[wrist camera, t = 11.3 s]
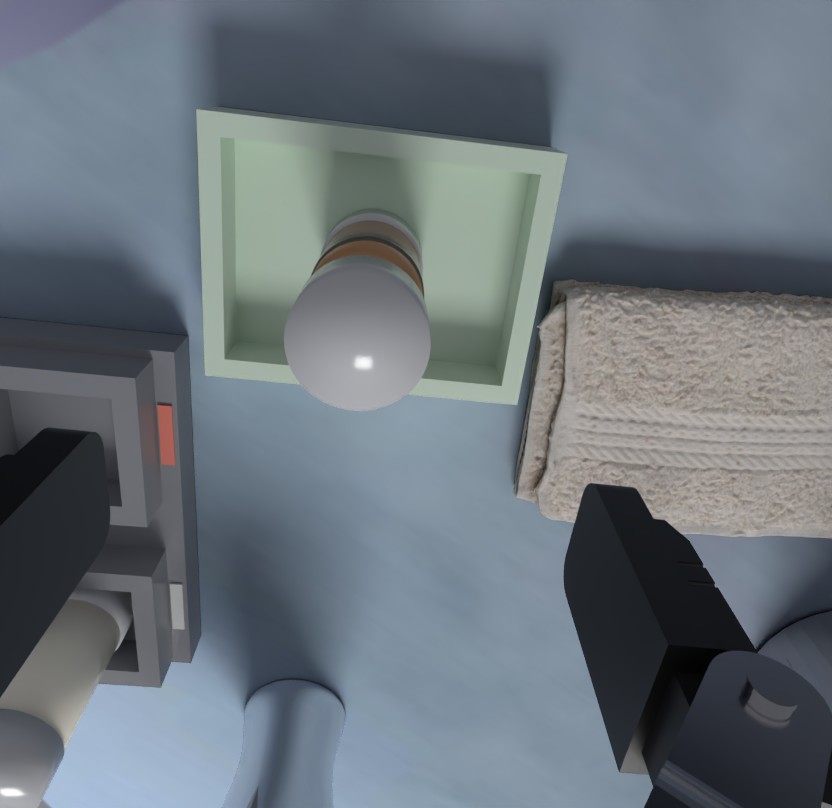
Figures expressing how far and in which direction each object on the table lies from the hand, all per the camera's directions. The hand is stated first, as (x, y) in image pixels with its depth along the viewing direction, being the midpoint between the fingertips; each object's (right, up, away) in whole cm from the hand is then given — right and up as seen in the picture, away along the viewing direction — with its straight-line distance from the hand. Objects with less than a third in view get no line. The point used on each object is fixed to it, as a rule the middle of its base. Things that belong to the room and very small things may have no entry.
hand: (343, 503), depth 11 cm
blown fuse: (0, +8, +16) cm, 18 cm away
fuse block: (-14, -3, +22) cm, 26 cm away
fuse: (-15, -8, +22) cm, 28 cm away
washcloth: (+15, +2, +21) cm, 26 cm away
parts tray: (0, +8, +17) cm, 18 cm away
